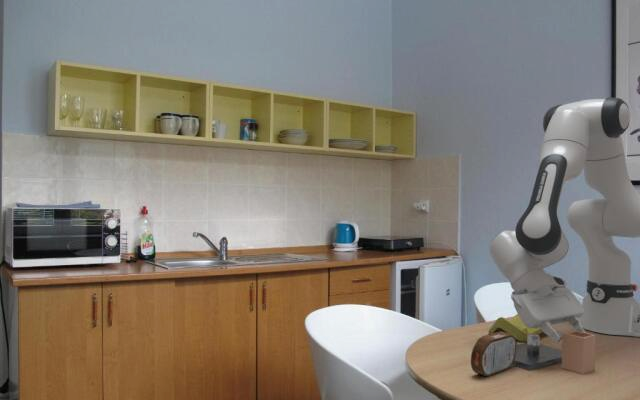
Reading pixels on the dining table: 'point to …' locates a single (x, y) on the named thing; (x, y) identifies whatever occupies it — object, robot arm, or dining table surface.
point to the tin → (493, 353)
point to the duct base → (535, 354)
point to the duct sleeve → (578, 351)
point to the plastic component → (514, 328)
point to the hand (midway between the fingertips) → (570, 338)
